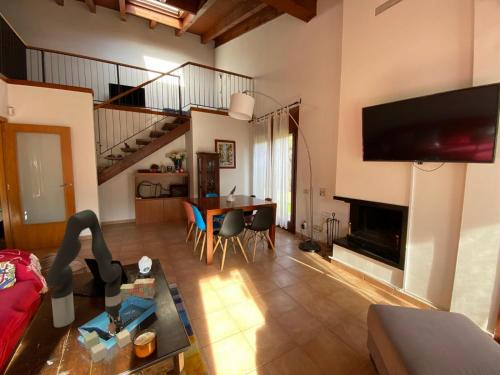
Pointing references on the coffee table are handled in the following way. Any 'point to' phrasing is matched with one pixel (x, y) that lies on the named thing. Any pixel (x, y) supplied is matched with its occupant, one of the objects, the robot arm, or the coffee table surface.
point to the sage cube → (91, 340)
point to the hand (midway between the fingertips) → (115, 329)
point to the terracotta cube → (112, 328)
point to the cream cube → (123, 338)
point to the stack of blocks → (139, 289)
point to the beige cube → (98, 352)
